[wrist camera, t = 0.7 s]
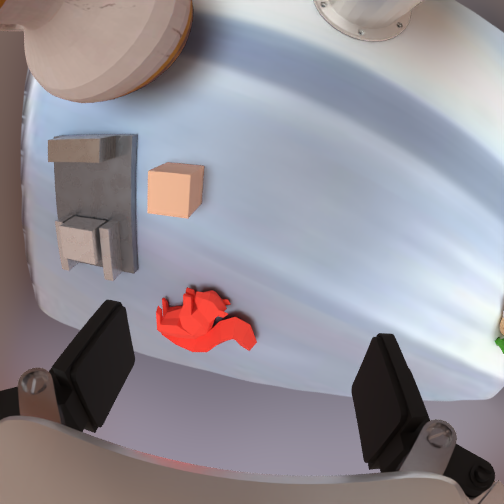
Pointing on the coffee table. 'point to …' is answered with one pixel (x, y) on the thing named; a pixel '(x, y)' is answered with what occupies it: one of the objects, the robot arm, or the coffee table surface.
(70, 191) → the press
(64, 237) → the light grey sliding block
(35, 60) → the jug
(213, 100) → the coffee table surface
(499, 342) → the kitten
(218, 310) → the animal figurine
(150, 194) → the block
